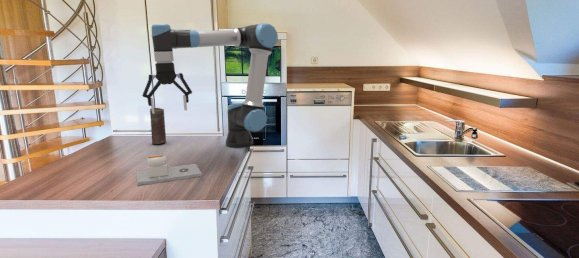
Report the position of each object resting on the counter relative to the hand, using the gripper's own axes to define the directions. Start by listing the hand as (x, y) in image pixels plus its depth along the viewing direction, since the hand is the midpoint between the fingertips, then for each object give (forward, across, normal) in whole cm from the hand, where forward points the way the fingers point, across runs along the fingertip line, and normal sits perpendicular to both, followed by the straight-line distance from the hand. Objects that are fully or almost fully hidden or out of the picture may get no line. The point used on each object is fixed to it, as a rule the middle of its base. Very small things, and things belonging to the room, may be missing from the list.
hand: (169, 111), depth 144 cm
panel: (+24, +5, +14) cm, 28 cm away
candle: (+24, +2, -42) cm, 49 cm away
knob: (+23, +9, +14) cm, 28 cm away
